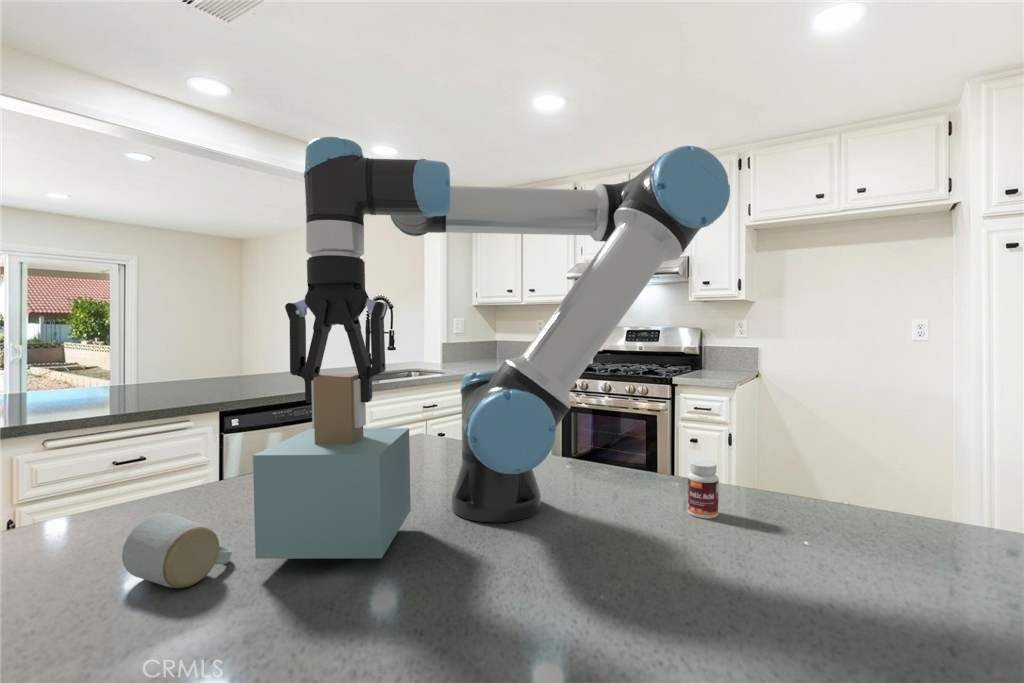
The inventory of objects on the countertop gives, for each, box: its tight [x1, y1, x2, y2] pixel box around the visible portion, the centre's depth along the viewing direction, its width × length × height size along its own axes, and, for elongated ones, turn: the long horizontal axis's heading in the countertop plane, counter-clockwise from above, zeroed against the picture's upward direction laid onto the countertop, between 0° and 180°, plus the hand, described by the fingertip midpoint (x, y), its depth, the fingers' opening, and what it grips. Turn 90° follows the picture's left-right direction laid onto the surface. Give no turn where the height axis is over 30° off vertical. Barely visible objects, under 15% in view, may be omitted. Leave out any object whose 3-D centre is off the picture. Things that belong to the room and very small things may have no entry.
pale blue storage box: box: [252, 373, 411, 560], centre depth 72 cm, size 16×17×22 cm
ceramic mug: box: [121, 512, 233, 589], centre depth 64 cm, size 11×8×8 cm
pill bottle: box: [687, 459, 720, 520], centre depth 85 cm, size 5×5×8 cm
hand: (339, 425), depth 72 cm, fingers closed on pale blue storage box, 5 cm apart
